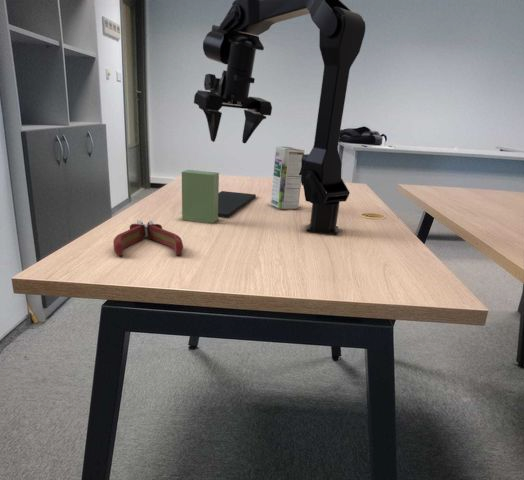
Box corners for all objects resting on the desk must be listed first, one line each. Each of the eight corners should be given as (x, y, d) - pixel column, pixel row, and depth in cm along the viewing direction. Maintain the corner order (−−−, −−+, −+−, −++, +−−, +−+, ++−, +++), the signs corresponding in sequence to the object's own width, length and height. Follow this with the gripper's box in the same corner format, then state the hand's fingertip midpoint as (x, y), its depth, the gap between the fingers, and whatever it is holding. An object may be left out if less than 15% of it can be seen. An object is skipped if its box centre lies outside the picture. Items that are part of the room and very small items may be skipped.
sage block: (212, 223, 102) (213, 174, 98) (182, 219, 103) (181, 171, 99) (217, 219, 106) (219, 172, 101) (188, 216, 107) (188, 169, 102)
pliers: (173, 227, 96) (173, 214, 95) (184, 256, 79) (184, 241, 78) (115, 227, 94) (114, 214, 92) (113, 257, 76) (112, 241, 75)
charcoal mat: (227, 217, 108) (228, 214, 108) (186, 213, 110) (186, 209, 109) (255, 197, 134) (255, 194, 134) (221, 193, 136) (222, 190, 136)
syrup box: (269, 205, 125) (274, 146, 119) (289, 204, 128) (294, 146, 121) (279, 209, 121) (284, 148, 114) (299, 209, 123) (305, 149, 116)
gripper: (252, 67, 116) (241, 134, 125) (185, 56, 105) (178, 130, 114) (279, 77, 109) (266, 147, 118) (211, 66, 99) (202, 144, 107)
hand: (228, 142), depth 115 cm, fingers open, 9 cm apart
